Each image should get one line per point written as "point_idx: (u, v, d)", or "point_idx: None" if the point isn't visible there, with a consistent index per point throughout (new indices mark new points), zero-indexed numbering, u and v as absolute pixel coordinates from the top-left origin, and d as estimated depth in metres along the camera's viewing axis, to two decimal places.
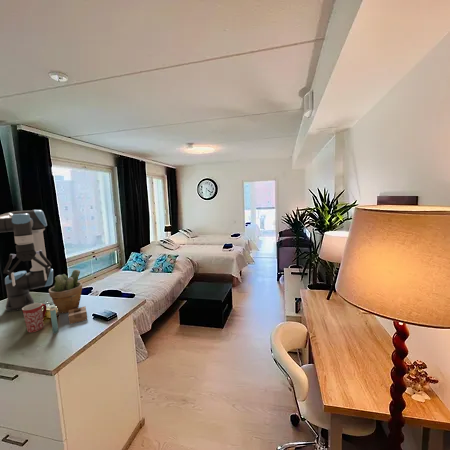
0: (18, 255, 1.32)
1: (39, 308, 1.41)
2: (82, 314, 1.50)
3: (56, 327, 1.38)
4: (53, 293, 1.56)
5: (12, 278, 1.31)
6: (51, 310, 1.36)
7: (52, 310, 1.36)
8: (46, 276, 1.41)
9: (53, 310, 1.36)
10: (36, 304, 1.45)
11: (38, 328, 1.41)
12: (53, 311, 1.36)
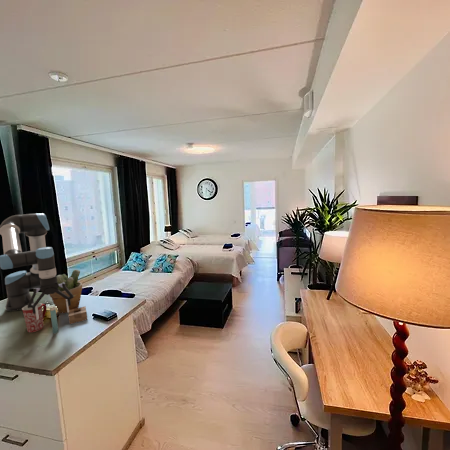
0: (42, 289, 1.33)
1: (39, 308, 1.41)
2: (82, 314, 1.50)
3: (56, 327, 1.38)
4: None
5: (36, 312, 1.32)
6: (51, 310, 1.36)
7: (52, 310, 1.36)
8: (68, 308, 1.41)
9: (53, 310, 1.36)
10: None
11: (38, 328, 1.41)
12: (53, 311, 1.36)
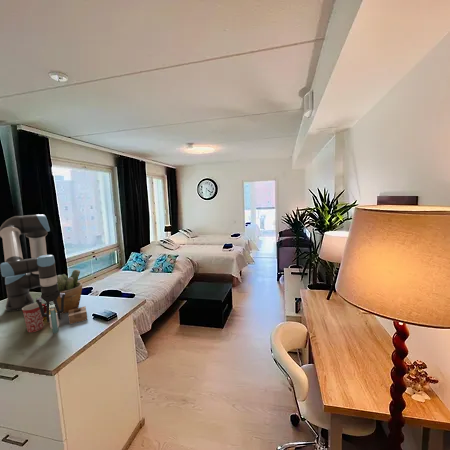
0: (43, 296, 1.34)
1: (39, 308, 1.41)
2: (82, 314, 1.50)
3: (56, 327, 1.38)
4: None
5: (50, 320, 1.36)
6: (51, 310, 1.36)
7: (52, 310, 1.36)
8: (58, 321, 1.40)
9: (53, 310, 1.36)
10: (36, 304, 1.45)
11: (38, 328, 1.41)
12: (53, 311, 1.36)
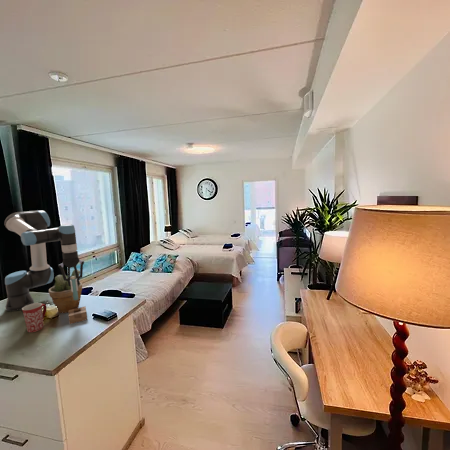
0: (64, 262, 1.46)
1: (39, 308, 1.41)
2: (82, 314, 1.50)
3: (76, 294, 1.50)
4: (53, 293, 1.56)
5: (71, 285, 1.48)
6: (72, 278, 1.48)
7: (73, 278, 1.49)
8: (77, 287, 1.52)
9: (74, 279, 1.49)
10: (36, 304, 1.45)
11: (38, 328, 1.41)
12: (74, 279, 1.49)
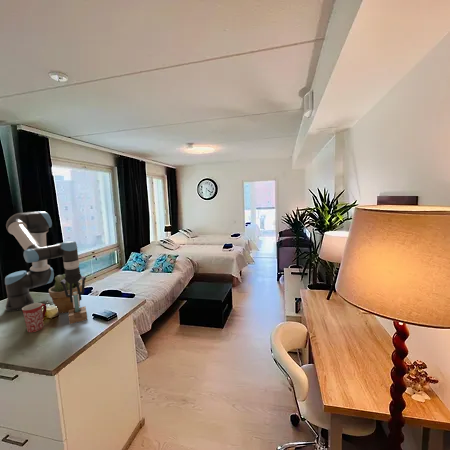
0: (66, 279, 1.47)
1: (39, 308, 1.41)
2: (82, 314, 1.50)
3: (78, 310, 1.52)
4: (53, 293, 1.56)
5: (73, 301, 1.50)
6: (74, 294, 1.50)
7: (75, 295, 1.50)
8: (79, 302, 1.53)
9: (76, 295, 1.50)
10: (36, 304, 1.45)
11: (38, 328, 1.41)
12: (76, 295, 1.50)
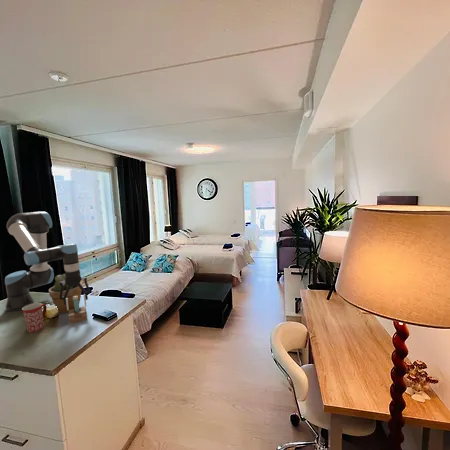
0: (67, 281, 1.47)
1: (39, 308, 1.41)
2: (82, 314, 1.50)
3: None
4: (53, 293, 1.56)
5: (67, 303, 1.48)
6: (74, 299, 1.50)
7: (75, 299, 1.50)
8: (85, 302, 1.55)
9: (76, 299, 1.50)
10: (36, 304, 1.45)
11: (38, 328, 1.41)
12: (76, 300, 1.50)
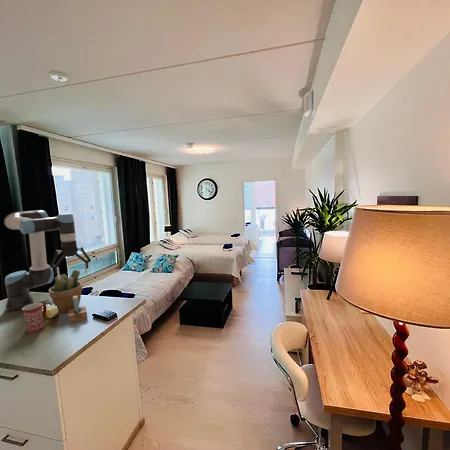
0: (63, 251, 1.45)
1: (39, 308, 1.41)
2: (82, 314, 1.50)
3: None
4: (53, 293, 1.56)
5: (58, 272, 1.44)
6: (74, 299, 1.50)
7: (75, 299, 1.50)
8: None
9: (76, 299, 1.50)
10: (36, 304, 1.45)
11: (38, 328, 1.41)
12: (76, 300, 1.50)
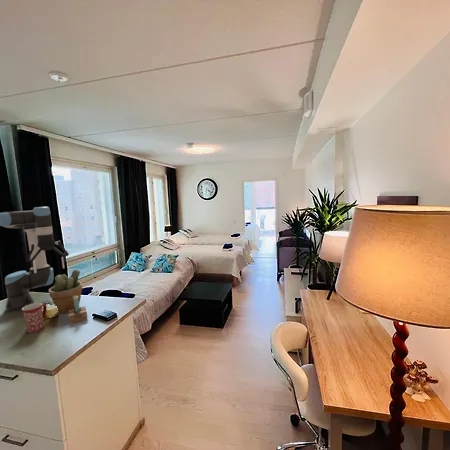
0: (39, 245, 1.44)
1: (39, 308, 1.41)
2: (82, 314, 1.50)
3: None
4: (53, 293, 1.56)
5: (34, 266, 1.43)
6: (74, 298, 1.50)
7: (75, 298, 1.50)
8: None
9: (76, 299, 1.51)
10: (36, 304, 1.45)
11: (38, 328, 1.41)
12: (76, 299, 1.51)
